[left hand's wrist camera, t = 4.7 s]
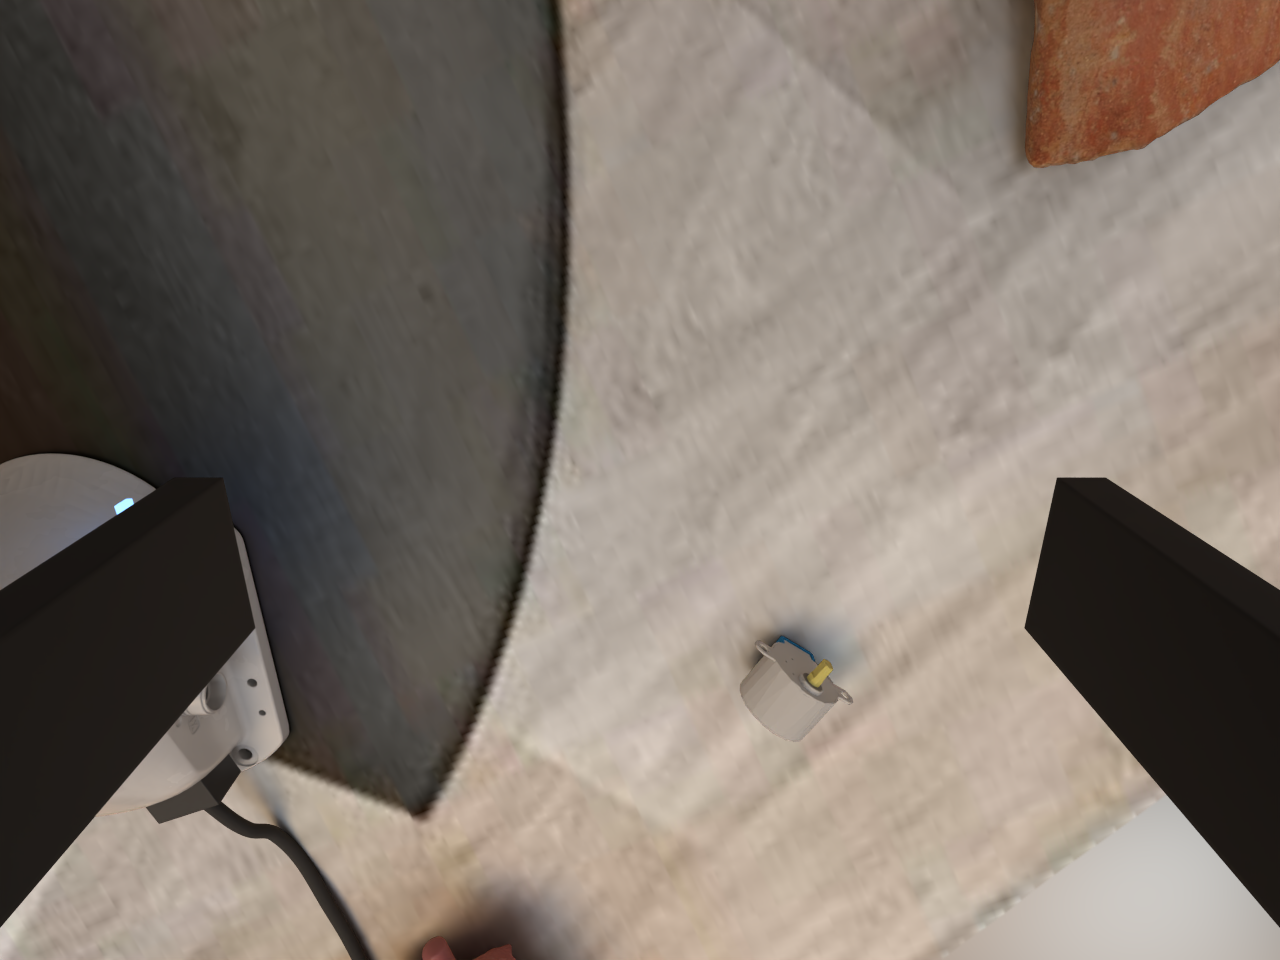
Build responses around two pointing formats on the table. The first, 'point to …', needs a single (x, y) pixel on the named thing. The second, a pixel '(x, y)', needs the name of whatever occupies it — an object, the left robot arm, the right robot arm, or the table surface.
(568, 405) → the table surface
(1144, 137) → the ceramic shard
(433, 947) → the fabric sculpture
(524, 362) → the table surface
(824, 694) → the electric motor
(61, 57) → the table surface
